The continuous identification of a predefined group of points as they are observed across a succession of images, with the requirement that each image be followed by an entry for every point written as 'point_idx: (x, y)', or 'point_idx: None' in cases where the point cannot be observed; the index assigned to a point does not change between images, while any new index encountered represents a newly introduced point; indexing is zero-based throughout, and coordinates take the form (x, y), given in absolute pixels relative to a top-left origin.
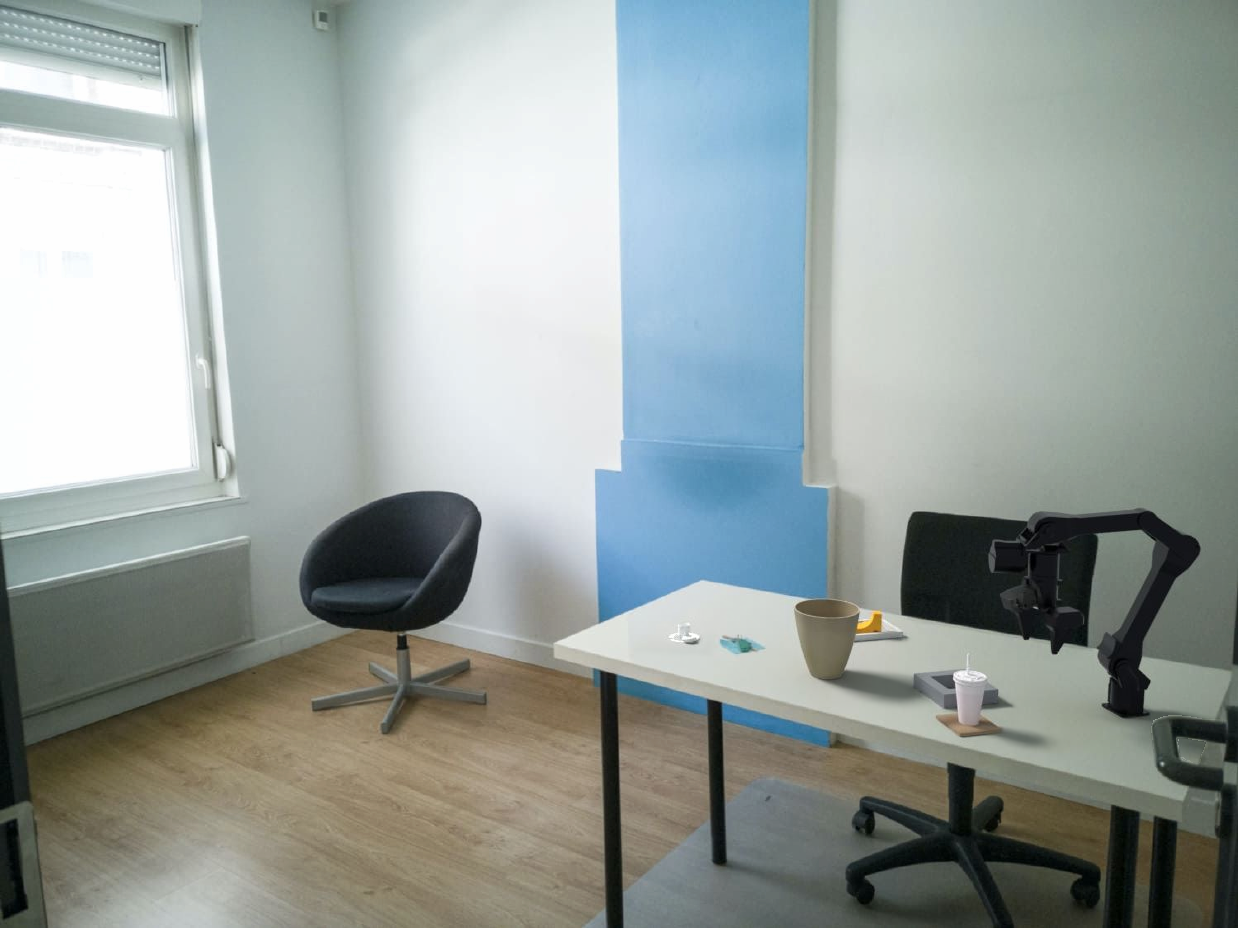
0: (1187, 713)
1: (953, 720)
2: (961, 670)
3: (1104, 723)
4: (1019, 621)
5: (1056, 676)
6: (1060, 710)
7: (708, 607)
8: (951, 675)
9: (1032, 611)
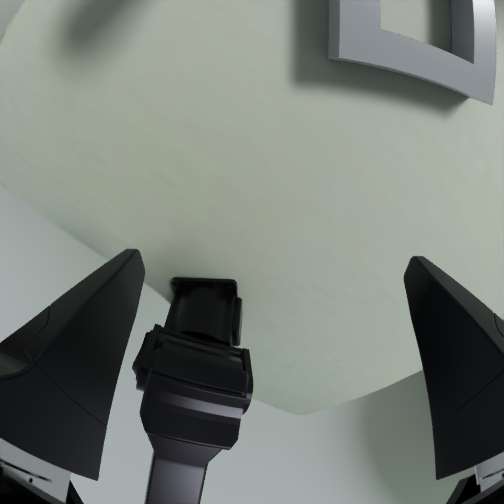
0: None
1: None
2: (488, 85)
3: (150, 232)
4: (498, 329)
5: (395, 294)
6: (234, 187)
7: None
8: (472, 35)
9: (455, 445)
